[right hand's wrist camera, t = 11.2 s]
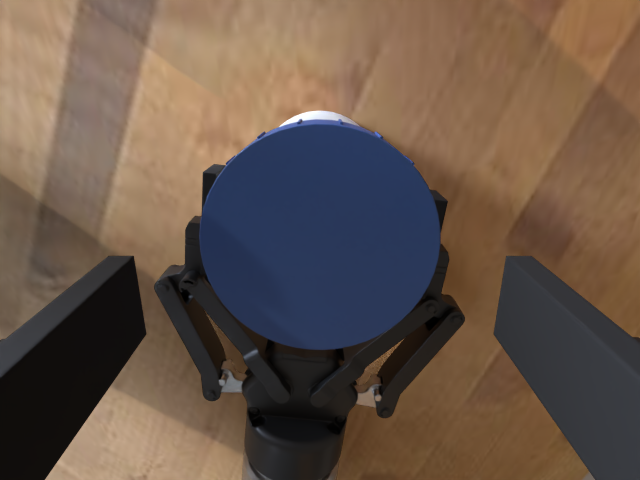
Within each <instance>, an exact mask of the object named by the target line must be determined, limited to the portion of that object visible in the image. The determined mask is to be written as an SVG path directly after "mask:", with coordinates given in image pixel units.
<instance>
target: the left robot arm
mask: <svg viewBox="0 0 640 480" xmlns="http://www.w3.org/2000/svg"><path fill="white" fill-rule="evenodd" d="M225 166H226V165H217V164H214V165H212V166H211V167H209V168H208V169H207V170H205V171H204V172H203V191H202V212H203V207H204V204H205V202H206V199H207V198H206V197H207V195H208V194H209V191H210V190H211V188H212V186H213V184H214V182H215V180H216V179H217V177H218V176H219V174H220V173H221V172H222V170H223V169H224V168H225ZM430 192H431V194H432V196H433V197H434V201H435V205H436V208H437V212H438V216H439V223H440V233H441V229H442V224H443V220H444V216H445V211H446V207H447V203H448V201H447V200H446V199H445V198H444V197H443V196H441V195H440V194H439V193H438V192H437V191H435V190H430ZM200 221H201V216H195V217H194V218H193V219H192V220H191V221H190V222H189V223H188V225H187V227H186V230H185V238H186V239H185V265H181V266H179V265H171V266H170V267H169V268H168V269H167V270H166V271H165V272H164V273H163V275H162V276H161V277H160V278H159V280H158V281H157V282H156V283H155V286H154V289H155V292H156V293H157V295H158V297H159V299H160V301H161V303H162V304H163V306H164V308H165V310H166V312H167V313H168V315H169V317H170V319H171V321H172V323H173V324H174V326H175V328H176V330H177V332H178V334H179V335H180V337H181V339H182V341H183V343H184V345H185V346H186V348H187V350H188V352H189V354H190V356H191V357H192V359H193V361H194V363H195V365H196V367H197V368H198V370H199V372H200V374H201V380H202V389H203V395H204V397H205V399H207V400H209V401H216V400H218V399H219V397H220V394H221V392H242V393H243V395H244V397H245V399H246V401H247V417H246V430H245V450H244V454H243V469H242V480H336V478H337V472H338V467H339V458H340V454H341V449H342V443H343V438H344V432H345V427H346V421H347V416H348V413H349V411H350V410H351V409H352V408H353V407H354V406H355V404H359V405H364V406H369V407H375V408H376V411H377V414H378V416H379V417H381V418H388V417H390V416H392V414H393V412H394V409H395V407H396V404H397V401H398V399H399V396H400V394H401V393H402V392H403V391H404V390H405V389H406V387H407V386H408V385H409V384H410V383H411V382H412V381H413V380H414V378H415V377H416V376H417V375H418V374H419V373H420V372H421V371H422V369H423V368H424V367H425V366H426V365H427V364H428V363H429V362H430V360H431V359H432V358H433V357H434V356H435V355H436V354H437V353H438V351H439V350H440V349H441V348H442V347H443V346H444V345H445V344H446V342H447V341H448V340H449V339H450V338H451V337H452V336H453V335H454V333H455V332H456V331H457V330H458V329H459V328H460V327H461V326H462V324H463V323H464V321H465V317H464V315H463V313H462V311H461V310H460V308H459V307H458V305H457V303H456V302H455V300H454V299H453V297H452V296H450V295H443V294H441V292H442V287H443V283H444V279H445V275H446V271H447V267H448V263H449V255H448V251H447V250H446V249H445V248H444V246H443V245H442V244H440V250H439V257H438V262H437V265H436V269H435V272H434V275H433V277H432V279H431V282H430V284H429V286H428V288H427V289H426V291H425V293H424V294H423V296H422V298H421V299H420V300H419V302H418V303H417V304H416V306H415V307H414V308H413V309H412V310H411V311H410V312H409V313H408V314H407V315H406V316H405V317H404V318H403V319H402V320H401V321H400V322H398V323H397V324H396V325H395V326H393V327H392V328H391V329H389V330H387V331H386V332H384V333H382V334H381V335H379V336H377V337H375V338H372V339H370V340H368V341H366V342H363V343H359V344H356V345H353V346H349V347H344V348H339V349H328V350H310V349H302V348H295V347H291V346H287V345H283V344H280V343H277V342H275V341H272V340H270V339H267V338H265V337H263V336H262V335H260V334H258V333H256V332H254V331H253V330H251V329H250V328H248V327H247V326H245V325H244V324H243V323H241V322H240V321H239V320H238V319H237V318H236V317H235V316H233V315H232V314H231V312H230V311H229V310H228V309H227V308H226V307H225V306H224V305H223V303H222V302H221V300H220V299H219V297H218V296H217V295H216V293H215V291H214V290H213V288H212V286H211V284H210V282H209V280H208V277H207V274H206V272H205V269H204V266H203V261H202V257H201V252H200V239H199V235H200ZM204 310H205V311H206V313H207V314H208V315H209V316H210V317H211V318H212V320H213V321H214V322H215V323H216V324H217V325H218V327H219V328H220V329H221V330H222V331H223V332H224V334H225V335H226V336H227V337H228V338H229V339H230V341H231V342H232V343H233V344H234V345H235V347H236V348H237V349H238V350H239V351H240V352H241V354H242V355H243V359H244V362H245V364H246V365H247V367H248V369H247V370H246V372H245V373H240V372H238V371H237V370H236V369H235V366H234V365H233V361H232V360H231V359H226V356H225V352H224V349H223V347H222V344H221V342H220V340H219V338H218V336H217V334H216V332H215V331H214V329H213V327H212V325H211V323H210V321H209V319H208V317H207V315H206V313H205V311H204ZM405 337H406V338H405ZM404 338H405V339H404ZM403 339H404V340H403ZM401 340H403V341H402V342H401V343H400V345H399V346H398V347H397V348H396V349H395V350H394V352H393V353H392V354H391V355H390V356H389V358H388V359H387V360H386V361H385V362H384V364H383V365H382V367H381V368H380V370H379V372H378V375H377V374H372V375H371V376H370V379H369V380H368V381H367V383H365V384H363V385H357V383H356V381H355V380H356V379H358V378H359V377H360V376H361V375H362V374H363V372H364V370H365V368H366V367H367V366H368V365H369V364H371V363H372V362H373V361H375V360H376V359H377V358H379V357H380V356H381V355H383V354H384V353H385V352H387V351H388V350H389V349H391V348H392V347H393V346H395V345H396V344H397V343H399V342H400V341H401ZM343 361H344V362H343Z"/></svg>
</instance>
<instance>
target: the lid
mask: <svg viewBox="0 0 640 480" xmlns="http://www.w3.org/2000/svg"><path fill="white" fill-rule="evenodd" d="M413 165H414V163H413V162H412V161H411V160H410V159H409V158H407V157H406V156H404V155H403V154H401V153H400V152H399V151H398V150H397V149H396V148H394V147H393V146H392V145H391V144H390V143H388V142H387V141H386V140H384V139H383V137H382V136H381V135H380V134H379V133H377V132H375V133H373V132H371V131H369V130H367V129H364V128H362V127H360V126H357V125H353V124H350V123H347V122H343V121H342V120H341V119H338V121H336V120H323V119H314V120H304V121H302V119H299V120H298V122H294V123H290V124H286V125H283V126H281V127H278V128H276V129H273V130H271V131H269V132H267V133H265V132H263V133H262V134H260V135H259V136H258V137H257V139H256V140H255V141H253V142H252V143H251V144H249V145H248V146H247V147H245V148H244V149H243V150H242V151H241V152H239V153H238V154H237V155H236V156H234V157H232V158H231V159H230V160H229V161H228V162H227V163H226V166H225V168H224V169H223V170H222V172H221V173H220V174H219V176H218V177H217V179H216V180H215V182H214V184H213V186H212V188H211V190H210V191H209V194H208V195H207V197H206V198H207V199H206V202H205V204H204V207H203V212H202V217H201V221H200V235H199V239H200V252H201V257H202V261H203V266H204V269H205V272H206V274H207V277H208V280H209V282H210V284H211V286H212V288H213V290H214V291H215V293H216V295H217V296H218V297H219V299H220V300H221V302H222V303H223V305H224V306H225V307H226V308H227V309H228V310H229V311H230V312H231V314H232V315H233V316H235V317H236V318H237V319H238V320H239V321H240V322H241V323H243V324H244V325H245V326H247V327H248V328H250V329H251V330H253V331H254V332H256V333H258V334H260V335H262V336H263V337H265V338H267V339H270V340H272V341H275V342H277V343H280V344H283V345H287V346H291V347H295V348H302V349H310V350H328V349H339V348H344V347H349V346H353V345H356V344H359V343H363V342H366V341H368V340H370V339H372V338H375V337H377V336H379V335H381V334H382V333H384V332H386V331H387V330H389V329H391V328H392V327H393V326H395V325H396V324H397V323H398V322H400V321H401V320H402V319H403V318H404V317H405V316H406V315H407V314H408V313H409V312H410V311H411V310H412V309H413V308H414V307H415V306H416V304H417V303H418V302H419V300H420V299H421V298H422V296H423V294H424V293H425V291H426V289H427V288H428V286H429V284H430V282H431V279H432V277H433V275H434V272H435V269H436V265H437V262H438V257H439V250H440V223H439V216H438V212H437V208H436V205H435V201H434V197H433V196H432V194H431V192H430V190H429V188H428V185H427V184H426V182H425V181H424V179H423V178H422V176H421V174H420V173H419V171H418V170H417V169H416V168H415V167H414V166H413Z"/></svg>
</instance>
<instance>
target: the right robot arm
mask: <svg viewBox="0 0 640 480" xmlns="http://www.w3.org/2000/svg"><path fill="white" fill-rule="evenodd" d="M145 335H146V328H145V322H144V316H143V310H142V304H141V298H140V291H139V285H138V279H137V273H136V267H135V261H134V256H108V257H107V258H105V259H104V260H103V261H102V262H101V263H99V264H98V265H97V266H96V267H94V268H93V269H92V270H91V271H89V272H88V273H87V274H86V275H84V276H83V277H82V278H81V279H79V280H78V281H77V282H76V283H74V284H73V285H72V286H71V287H69V288H68V289H67V290H66V291H64V292H63V293H62V294H61V295H60V296H58V297H57V298H56V299H55V300H53V301H52V302H51V303H50V304H48V305H47V306H46V307H45V308H43V309H42V310H41V311H40V312H38V313H37V314H36V315H35V316H33V317H32V318H31V319H30V320H28V321H27V322H26V323H25V324H23V325H22V326H21V327H20V328H19V329H17V330H16V331H15V332H14V333H12V334H11V335H10V336H9V337H7V338H6V339H1V340H0V480H45V479H46V477H47V476H48V474H49V473H50V471H51V470H52V469H53V467H54V466H55V464H56V463H57V461H58V460H59V459H60V457H61V456H62V454H63V453H64V451H65V450H66V448H67V447H68V446H69V444H70V443H71V441H72V440H73V438H74V437H75V436H76V434H77V433H78V431H79V430H80V428H81V427H82V426H83V424H84V423H85V421H86V420H87V418H88V417H89V416H90V414H91V413H92V411H93V410H94V408H95V407H96V406H97V404H98V403H99V401H100V400H101V398H102V397H103V396H104V394H105V393H106V391H107V390H108V388H109V387H110V386H111V384H112V383H113V381H114V380H115V378H116V377H117V376H118V374H119V373H120V371H121V370H122V368H123V367H124V366H125V364H126V363H127V361H128V360H129V358H130V357H131V356H132V354H133V353H134V351H135V350H136V348H137V347H138V345H139V344H140V343H141V341H142V340H143V338H144V337H145ZM494 335H495V337H496V338H497V340H498V341H499V343H500V344H501V345H502V347H503V348H504V350H505V351H506V353H507V354H508V356H509V357H510V358H511V360H512V361H513V363H514V364H515V366H516V367H517V368H518V370H519V371H520V373H521V374H522V376H523V377H524V378H525V380H526V381H527V383H528V384H529V386H530V387H531V388H532V390H533V391H534V393H535V394H536V396H537V397H538V398H539V400H540V401H541V403H542V404H543V406H544V407H545V408H546V410H547V411H548V413H549V414H550V416H551V417H552V418H553V420H554V421H555V423H556V424H557V426H558V427H559V428H560V430H561V431H562V433H563V434H564V436H565V437H566V438H567V440H568V441H569V443H570V444H571V446H572V447H573V448H574V450H575V451H576V453H577V454H578V456H579V457H580V459H581V460H582V461H583V463H584V464H585V466H586V467H587V469H588V470H589V471H590V473H591V474H592V476H593V477H594V479H595V480H640V338H638V337H631V336H630V335H629V334H628V333H626V332H625V331H624V330H623V329H621V328H620V327H619V326H618V325H617V324H615V323H614V322H613V321H612V320H610V319H609V318H608V317H607V316H605V315H604V314H603V313H602V312H600V311H599V310H598V309H597V308H595V307H594V306H593V305H592V304H590V303H589V302H588V301H587V300H585V299H584V298H583V297H582V296H580V295H579V294H578V293H577V292H576V291H574V290H573V289H572V288H571V287H569V286H568V285H567V284H566V283H564V282H563V281H562V280H561V279H559V278H558V277H557V276H556V275H554V274H553V273H552V272H551V271H549V270H548V269H547V268H546V267H544V266H543V265H542V264H541V263H539V262H538V261H537V260H536V259H535V258H533V257H532V256H506V261H505V267H504V273H503V279H502V285H501V291H500V298H499V304H498V310H497V316H496V322H495V328H494Z"/></svg>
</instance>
